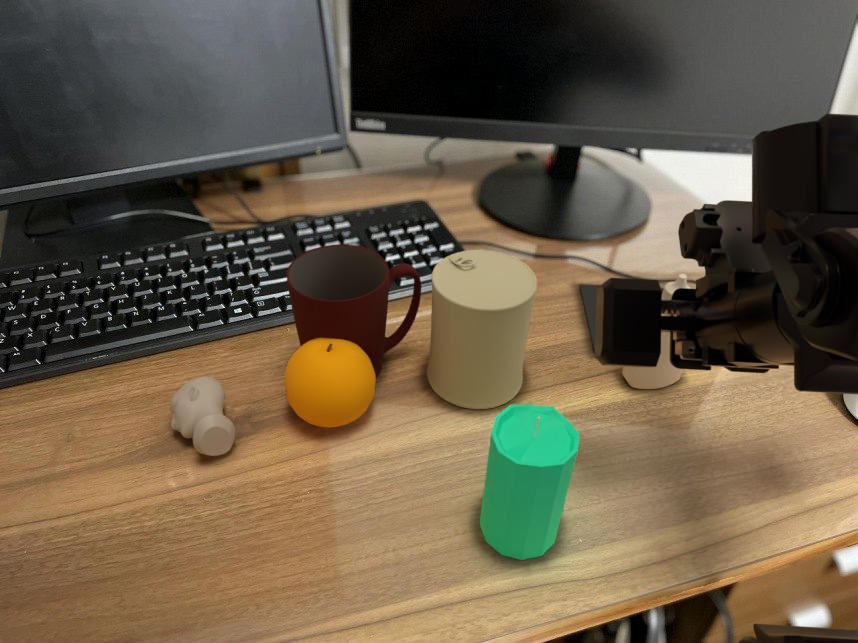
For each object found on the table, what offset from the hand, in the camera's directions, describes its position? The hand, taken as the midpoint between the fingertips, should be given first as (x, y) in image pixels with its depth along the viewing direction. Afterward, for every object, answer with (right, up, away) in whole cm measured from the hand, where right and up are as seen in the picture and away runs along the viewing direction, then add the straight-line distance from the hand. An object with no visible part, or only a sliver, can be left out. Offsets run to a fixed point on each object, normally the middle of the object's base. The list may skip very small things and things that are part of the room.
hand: (686, 338), depth 56 cm
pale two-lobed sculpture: (-41, -8, +2) cm, 42 cm away
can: (-17, -4, +9) cm, 20 cm away
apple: (-30, -7, +5) cm, 31 cm away
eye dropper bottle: (0, -4, +9) cm, 10 cm away
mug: (-28, -3, +10) cm, 30 cm away
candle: (-15, -14, -4) cm, 21 cm away
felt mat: (0, +2, +16) cm, 16 cm away
